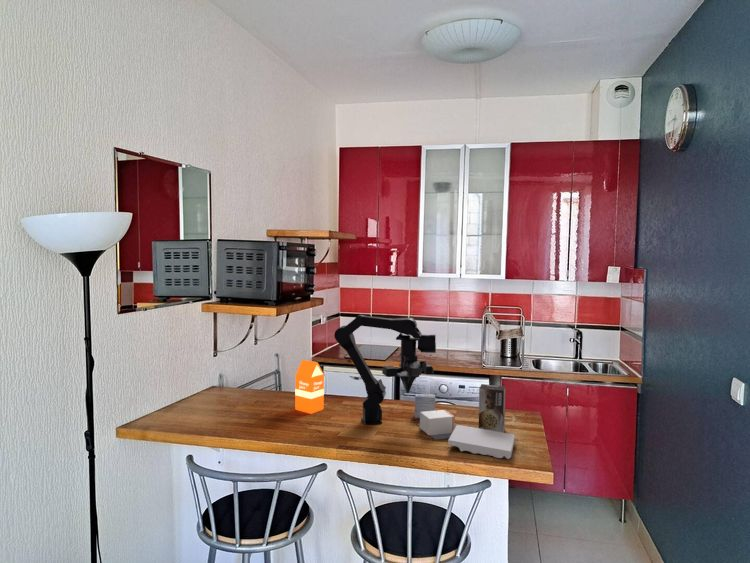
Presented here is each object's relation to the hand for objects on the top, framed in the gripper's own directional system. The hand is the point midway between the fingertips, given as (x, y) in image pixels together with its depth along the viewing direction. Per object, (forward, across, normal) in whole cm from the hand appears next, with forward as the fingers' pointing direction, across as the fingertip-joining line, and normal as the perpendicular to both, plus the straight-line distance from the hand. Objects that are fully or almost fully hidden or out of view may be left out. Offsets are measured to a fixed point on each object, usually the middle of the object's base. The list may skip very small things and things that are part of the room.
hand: (407, 392), depth 193 cm
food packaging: (+12, +16, -28) cm, 34 cm away
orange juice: (+12, -32, +27) cm, 44 cm away
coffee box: (+12, +28, -14) cm, 34 cm away
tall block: (+9, +3, -10) cm, 14 cm away
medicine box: (+12, +10, +6) cm, 17 cm away
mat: (+12, +10, -10) cm, 19 cm away
